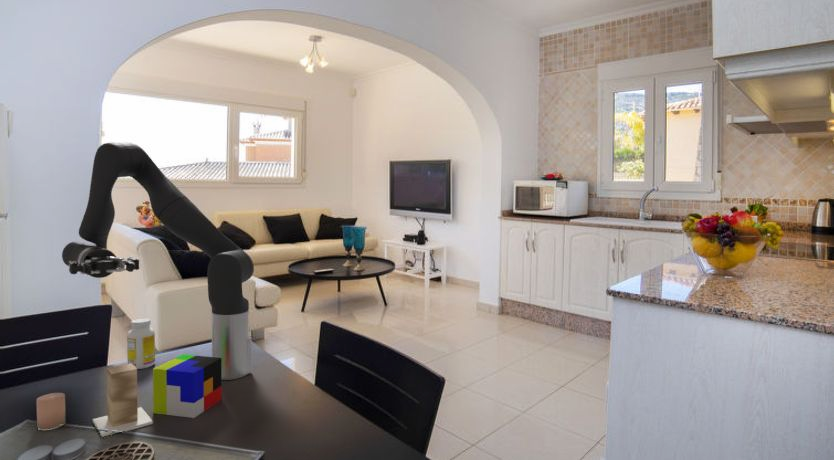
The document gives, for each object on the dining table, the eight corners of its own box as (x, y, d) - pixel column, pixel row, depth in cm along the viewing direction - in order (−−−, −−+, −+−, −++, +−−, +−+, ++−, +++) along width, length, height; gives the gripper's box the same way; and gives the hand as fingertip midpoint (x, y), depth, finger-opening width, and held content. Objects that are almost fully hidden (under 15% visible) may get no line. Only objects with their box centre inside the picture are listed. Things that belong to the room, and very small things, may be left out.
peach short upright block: (63, 418, 101) (63, 390, 100) (67, 426, 97) (66, 397, 97) (36, 425, 97) (35, 396, 97) (38, 433, 94) (37, 403, 94)
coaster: (141, 409, 106) (141, 406, 106) (152, 423, 99) (152, 421, 99) (92, 421, 99) (92, 419, 99) (101, 438, 93) (101, 435, 93)
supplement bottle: (157, 361, 137) (157, 317, 136) (152, 368, 131) (152, 322, 130) (130, 362, 135) (130, 318, 134) (124, 371, 129) (124, 324, 128)
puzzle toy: (194, 418, 102) (193, 372, 102) (153, 413, 104) (152, 368, 104) (221, 399, 112) (221, 357, 112) (183, 395, 114) (183, 354, 113)
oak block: (132, 413, 102) (131, 363, 102) (137, 420, 99) (137, 369, 98) (107, 419, 99) (106, 367, 99) (112, 427, 96) (111, 374, 95)
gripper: (63, 248, 119) (74, 254, 107) (128, 246, 129) (144, 251, 117) (63, 278, 120) (74, 287, 108) (128, 273, 129) (144, 281, 118)
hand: (111, 268), depth 113 cm, fingers open, 8 cm apart
